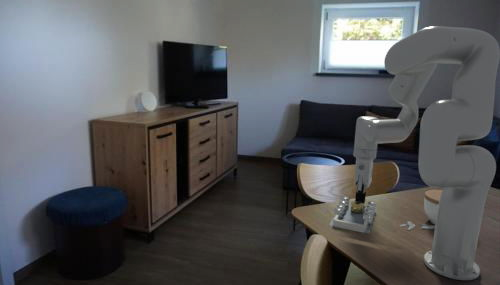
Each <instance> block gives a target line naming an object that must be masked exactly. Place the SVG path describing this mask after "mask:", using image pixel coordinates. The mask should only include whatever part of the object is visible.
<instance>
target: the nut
mask: <svg viewBox="0 0 500 285" xmlns="http://www.w3.org/2000/svg"><path fill="white" fill-rule="evenodd" d="M350 203H351V204H350V205H351V212H352V213H354V214H362V213H363V208H364V204H365V203H364V204H363V203H362V202H359V201H355V200H353V201H351V202H350Z"/></svg>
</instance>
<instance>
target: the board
mask: <svg viewBox="0 0 500 285" xmlns="http://www.w3.org/2000/svg"><path fill="white" fill-rule="evenodd" d="M366 209H367V207H363V213H362V214H354V213H352V212H351V204H349V207H347V211H346V212H344V216H342V219H341V220H339V214H336V216H335V218H334V216H333V217H332V219H331V220H330V222H329V224H328V226H330V227H335V228H339V229H344V230H349V231H353V232H358V233H359V232H360V233H362V234H368V235H369V234H370V233H371V229H372V226H373V223H374V219H375V217H376V215H377V214H376V213H377V209H376V212H375V213H374V217H373V221H372V223H371V225H370V226H367V225H368V220H367V219H365V221H364V224H363V215H364V213H365V210H366Z"/></svg>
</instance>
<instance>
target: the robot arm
mask: <svg viewBox="0 0 500 285" xmlns="http://www.w3.org/2000/svg"><path fill="white" fill-rule="evenodd" d="M499 45H500V44H499V43H498V40H496V38H495V37H494V36H493V35H492V34H490V33H488V32H487V31H484V30H481V29H476V28H469V27H457V26H456V27H455V26H454V27H453V26H452V27H451V26H440V25H438V26H436V25H434V26H427V27H424V28H421V29H419V30H418V31H415V32H413V33H412V34H409V35H408V36H406V37H405V38H402V39H400V40H399V41H397V42H395V43H394V44H393V45H391V47H390V48H389V49H388V51H387V52H386V54H385V57H384V69H385V71H387V72H388V74H390V75H394V78H393V80H392V81H391V84H390V85H389V87H388V90H387V91H388V95H389V97H390V98H391V99H392V100H393V101H395V102H396V103H398V104H399V105H402V108H401V111H400V113H399V114H398V116H397V118H395V119H393V118H391V119H380V118H378V117H376V116H370V115H368V116H367V115H365V116H364V115H363V116H359V117H357V119H356V124H355V134H354V146H353V154H352V155H353V157H354V158H355V159H356V160H355V168H354V179H353V183H354V184H353V185H354V186H355V187H356V191H355V198H354V201H359V202H362V203H363V204H365V203H366V195H367V192H366V191H367V188H368V189H369V187H370V185H371V183H372V180H373V168H374V160H375V159H376V158H377V153H378V144H391V143H393V144H394V143H395V144H396V143H402V142H403V141H405V140H406V139H407V138H409V136H410V135H411V133H412V132H413V130H414V128H415V127H416V125H417V123H418V121H419V113H420V112H419V106H418V102H417V101H418V99H419V97H420V95H421V94H422V92H423V90H424V88H425V87H426V85H428V82H429V81H430V80H431V77H432V75H433V73H434V72H435V71H436V69H437V67H438V64H446V65H448V64H449V65H450V64H451V65H452V64H455V65H461V66H460V67H459V68H458V70H457V72H456V74H455V76H454V79H453V81H452V91H451V99H442V100H441V99H440V100H436V101H434V102H432V103H431V104H430V105H428V107H426V109H425V110H424V112H423V115H422V116H421V120H420V128H419V146H418V161H417V162H418V172H419V174H420V178H421V180H422V181H423V182H424V184H426V185H427V186H429V187H431V188H435V189H441V190H442V193H441V196H440V200H439V205H438V212H437V218H436V225H435V224H434V225H435V229H434V231H433V238H432V247H431V250H429V251H426V252H425V253H424V255H423V259H422V260H423V263H424V264H425V266H426V267H428V269H429V270H431V271H433V272H435V273H436V274H438V275H440V276H442V277H445V278H449V279H452V280H458V281H472V280H476V279H478V278H479V276H480V274H481V268H480V267H479V265H478V264H477V263H476V262H475V260H476V259H475V258H476V254H477V248H478V242H479V238H480V237H479V236H480V231H481V225H482V220H483V215H484V209H485V204H486V200H487V196H488V193H489V190H490V188H491V185H492V183H493V181H494V179H495V175H496V171H497V163H496V159H495V157H494V155H493V153H491V152H490V151H489V150H488V149H486V148H484V147H482V146H478V145H471V144H468V145H457V142H461V141H475V140H480V139H483V138H485V137H486V136H488V135H489V133H490V132H491V129H492V126H493V118H494V105H495V97H496V96H495V94H496V79H497V73H498V68H499V64H500V46H499Z"/></svg>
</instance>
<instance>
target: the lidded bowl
mask: <svg viewBox="0 0 500 285" xmlns="http://www.w3.org/2000/svg"><path fill="white" fill-rule="evenodd" d="M442 190H443V189H430V190H427V191H425V192H424V200H423V207H424V213H425V215H426V217H427V218H428V219H429V220H430V223H432V224H433V225H436V218H437V212H438V205H439V200H440V196H441V193H442Z"/></svg>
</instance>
